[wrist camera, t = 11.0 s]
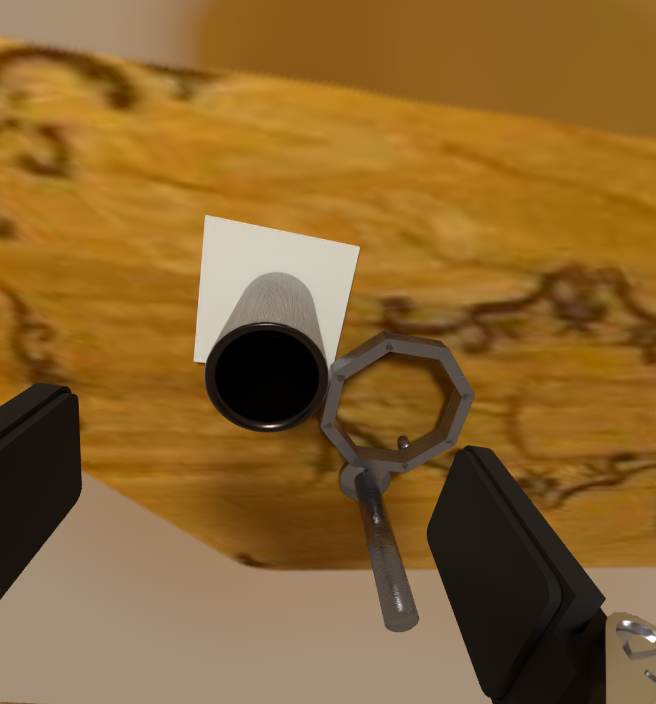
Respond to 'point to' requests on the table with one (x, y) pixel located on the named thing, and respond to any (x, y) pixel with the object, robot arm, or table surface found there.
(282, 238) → the coaster
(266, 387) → the gray hollow cylinder
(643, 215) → the table surface
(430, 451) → the ring stand
